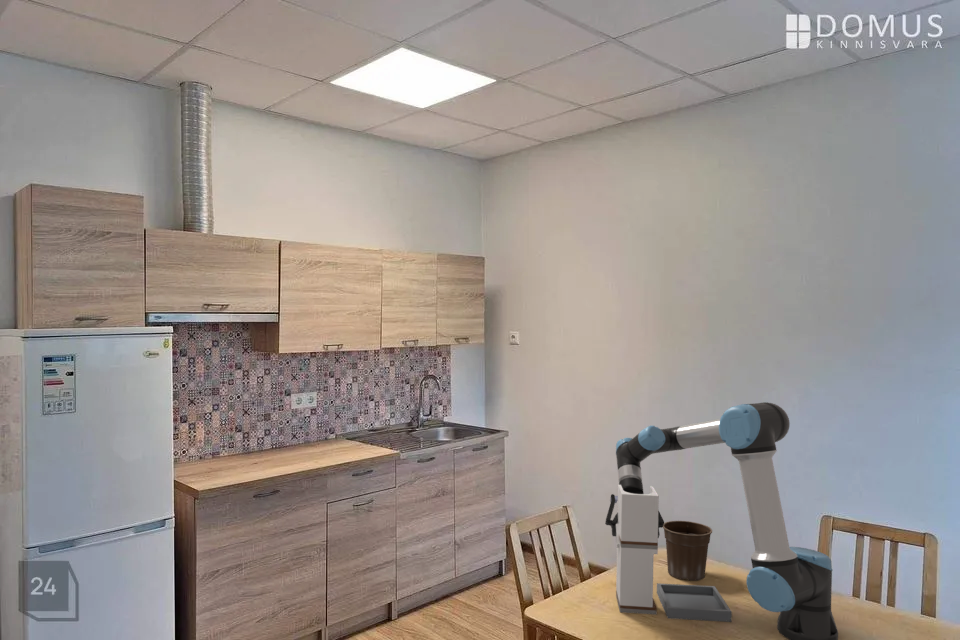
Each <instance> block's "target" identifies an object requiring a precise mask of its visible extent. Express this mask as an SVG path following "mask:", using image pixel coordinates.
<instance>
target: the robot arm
mask: <svg viewBox="0 0 960 640" xmlns="http://www.w3.org/2000/svg"><path fill="white" fill-rule="evenodd" d="M788 415H789V414H787V412H786V410H784V409H783V408H782V407H781V406H779V405H778V404H776V403H772V402H767V401H766V402H758V403H742V404H737V405H734V406H731V407H729V408H727V409H726V410H725V411H724V413H723V414H722V415H721V416H720V418H717V419H711V420H707V421H701V422H695V423H690V424H685V425H681V426H680V425H679V426H675V427H669V428H662V429H661V428H659V427H658V426H655V425H648V426H647V427H645V428H643V429H641V430H640V431H639V433H638V434H636V435H635V436H634V437H624V438H623V439H622V438H620V439H619V440H618V441H617V442H616V445H615V447H616V448H615V456H616V466H617V475H618V485H621V486H622V488H623V490H624V491H625V492H628V493H633V494H645V493H644V487H643V486H644V485H643V476H642V468H641V462H643V461H644V460H645V459H647V458H648V457H650V456H651V455H653V454H659V453H666V452H672V451H682V450H686V449H691V448H692V449H693V448H699V447H705V446H711V445H712V446H713V445H720V444H725V445H726V446H728V447H729V448H730V451H731V455H732V456H731V457H734V458H735V459H737V461H738V464H739V468H740V469H739V470H740V474H741V479H742V484H743V490H744V495H745V500H746V507H747V512H748V517H749V523H750V529H751V533H752V538H753V544H754V551H753V552H752V554H751V555H750V561H751V566H752V569H750V570H749V572H748V574H747V577H746V587H747V590H748V593H749V595H750V597H751V598H752V600H753V601H754V602H755V603H757V604H758V605H759V607H761V608H762V609H764V610H766V611H768V612H771V613H779V614H778V616H777V617H778V618H777V620H776V621H777V622H776V624H777V626H776V628H777V631H778V632H779V634H781V635H782V636H783V637H784V638H786V639H788V640H839V630H838V628H837V627H838V626H837V625H836V622H835V618H834V615H833V612H832V582H833V567H832V566H833V565H832V559H831V558H830V557H829V556H828V555H827V554H825V553H823V552H820V551H817V550H814V549H811V548H807V547H800V546H790V543H789V539H788V534H787V533H788V532H787V528H786V523H785V517H784V512H783V508H782V507H783V506H782V503H781V497H780V491H779V487H778V483H777V477H776V472H775V466H774V462H773V457H774V455H775V454H776V453H777V452H778V451H777V450H778V449H777V447H776V446H777V445H776V443H778V442H779V441H781V440H783V439H784V438H785V437H786V436H787V434H788V433H789V429H790V424H791V423H790V418H789V416H788ZM609 501H610V504H609V508H608V511H607V515H606V518H605V525H606V526H610V527H611V535H612V537H615V547H616V549H617V548H619V545H620V541H619V526H618V524H617V522H618V511H616V514H615V515H614V517H613V519H611V518H612V515H613V512H614V509H615V505H616V504H618V495H615V494H614V493H612V494H611V495H610V499H609ZM664 523H665V521H664V519H663V517H662V514H661V512H660V511H659V509H658V539H659V537H660V536H661V535H660V528H663V525H664Z"/></svg>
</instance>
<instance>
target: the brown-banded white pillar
mask: <svg viewBox="0 0 960 640" xmlns="http://www.w3.org/2000/svg"><path fill="white" fill-rule="evenodd" d="M617 496H618V501H617V512H618V522H617V524H618V526H619V541H620V545H619V548H617V547H616V575H615V576H616V577H615V578H616V584H615V585H616V586H615V587H616V588H615V589H616V590H615V593H616V594H615V597H616V601H617V605H618V609H619V612H620V613H625V614H626V613H627V614H641V615H657V611H658V609H657V608H658V607H657V605H656V601H655V599H654V558H655V557H654V555H658V552H659V551H658V550H659V549H658V548H659V546H658V545H659V538H658V510H659V502H660V501H659V500H660V499H659V494H658V493H657V491H656V488H654V486H653V485H650V486H649V493H644V494H633V493H628V492H625V491H624V490H623V488H622V486H621V485H619V484H617Z"/></svg>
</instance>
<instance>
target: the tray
mask: <svg viewBox="0 0 960 640" xmlns="http://www.w3.org/2000/svg"><path fill="white" fill-rule="evenodd" d="M656 595H657V597H658V599H659V601H660V604H661V606H662V608H663V611H664V613H665V616H666V618H667V619H668V620H669V619H671V620H672V619H673V620H686V621H687V620H688V621H689V620H690V621H691V620H693V621H708V622H727V623H728V622H729V623H732V610H731V609H730V607H729V606H728V604H727V602H726V601H725V599H724V597H723V596H722V595H721V594H720V592H719V590H718V589H717V588H716V585H700V584H699V585H698V584H696V585H694V584H693V585H692V584H678V583H677V584H675V583H656Z"/></svg>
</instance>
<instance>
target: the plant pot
mask: <svg viewBox="0 0 960 640" xmlns="http://www.w3.org/2000/svg"><path fill="white" fill-rule="evenodd" d="M662 528H663V534H664V539H665V546H666V548H665V549H666V562H667V564H666V565H667V574H668V575H670V576H672V577H673V578H675V579H679V580H682V581H683V580H684V579H685V580H688V581H690V582H691V581H692V582H693V581H701V580H703V579H704V578H705V576H706V568H707V560H708V559H707V558H708V553H709V552H708V551H709V544H710V543H711V542H710V541H711V535H712V533H713V529H712V528H711V526H708V525H706V524H702V523H699V522H694V521H690V520H671V521H666V522H665V521H664V525H663V527H662Z"/></svg>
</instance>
